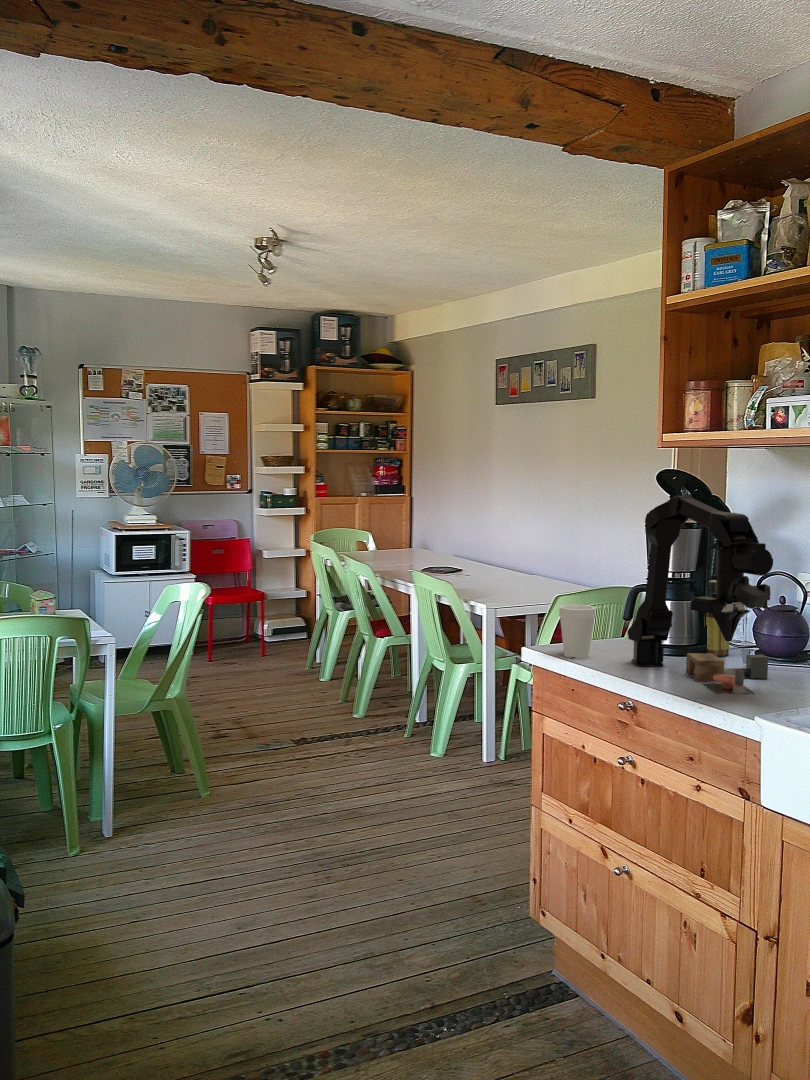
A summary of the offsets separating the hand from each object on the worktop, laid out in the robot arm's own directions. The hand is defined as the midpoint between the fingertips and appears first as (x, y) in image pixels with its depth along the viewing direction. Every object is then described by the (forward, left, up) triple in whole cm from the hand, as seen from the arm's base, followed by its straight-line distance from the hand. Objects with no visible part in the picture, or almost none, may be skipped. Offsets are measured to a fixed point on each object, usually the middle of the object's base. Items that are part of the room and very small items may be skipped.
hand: (728, 641), depth 206 cm
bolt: (+6, +14, -11) cm, 19 cm away
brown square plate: (+2, +3, -12) cm, 12 cm away
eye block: (0, +14, -12) cm, 18 cm away
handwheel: (+2, +1, -11) cm, 12 cm away
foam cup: (-25, +39, -12) cm, 48 cm away
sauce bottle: (+13, +41, -12) cm, 45 cm away
